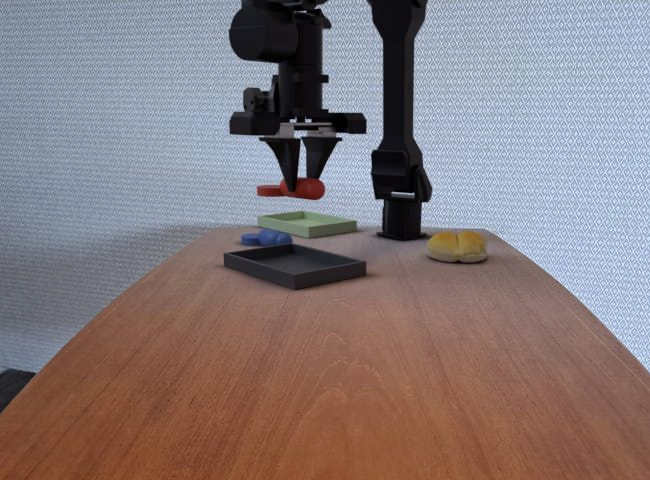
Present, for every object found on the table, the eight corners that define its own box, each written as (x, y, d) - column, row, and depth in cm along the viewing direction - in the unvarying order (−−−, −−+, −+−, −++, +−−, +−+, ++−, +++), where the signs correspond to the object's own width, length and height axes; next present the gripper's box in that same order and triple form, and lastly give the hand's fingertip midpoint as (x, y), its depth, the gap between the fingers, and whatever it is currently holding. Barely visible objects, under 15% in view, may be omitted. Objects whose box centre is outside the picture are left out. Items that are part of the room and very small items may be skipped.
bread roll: (428, 251, 106) (429, 225, 105) (486, 253, 104) (488, 227, 103) (422, 262, 99) (424, 234, 97) (485, 265, 97) (487, 237, 95)
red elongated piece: (334, 199, 91) (334, 178, 90) (310, 202, 88) (310, 180, 87) (274, 192, 99) (273, 172, 98) (250, 195, 96) (249, 174, 95)
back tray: (356, 230, 123) (356, 220, 123) (308, 238, 117) (308, 226, 116) (303, 220, 135) (303, 210, 134) (257, 225, 128) (257, 215, 128)
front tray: (366, 275, 91) (366, 261, 91) (294, 289, 84) (294, 274, 83) (292, 254, 104) (291, 242, 103) (224, 266, 96) (223, 252, 96)
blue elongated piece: (301, 250, 107) (300, 232, 106) (277, 253, 104) (276, 235, 103) (259, 239, 116) (258, 222, 115) (236, 242, 113) (235, 225, 112)
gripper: (319, 71, 98) (319, 182, 103) (204, 65, 87) (211, 190, 92) (370, 68, 90) (367, 189, 95) (251, 61, 79) (255, 198, 84)
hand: (301, 191), depth 92 cm, fingers closed on red elongated piece, 3 cm apart
